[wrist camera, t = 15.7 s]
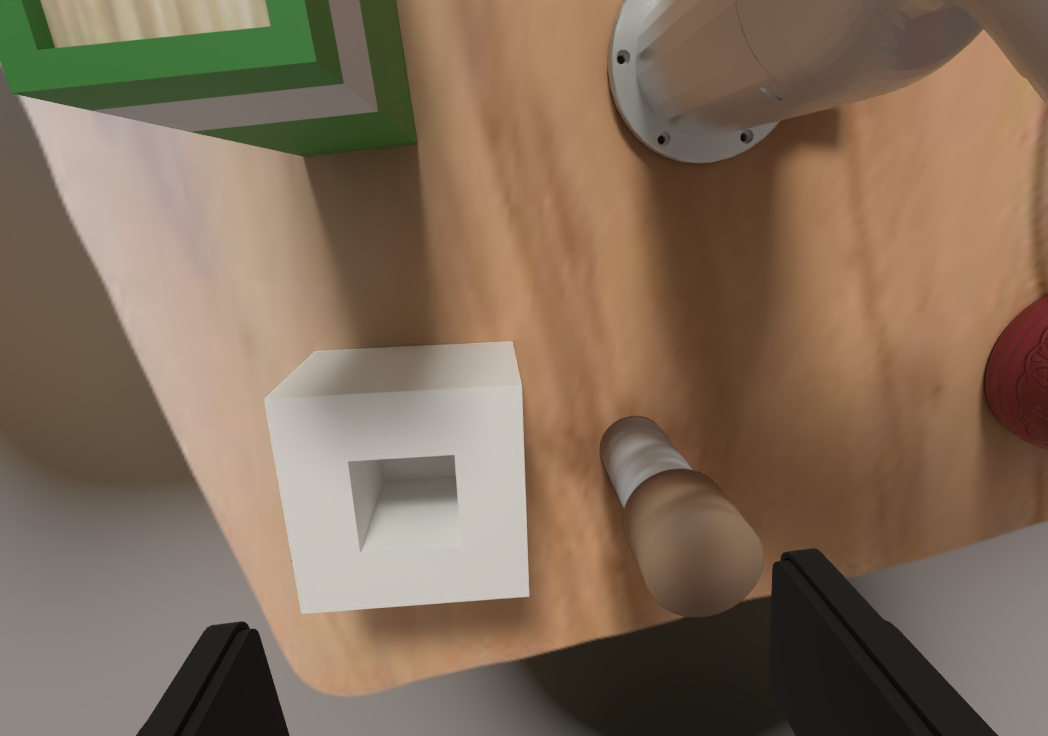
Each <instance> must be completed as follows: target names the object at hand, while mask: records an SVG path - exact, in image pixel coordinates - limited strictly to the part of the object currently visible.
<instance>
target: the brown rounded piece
mask: <svg viewBox="0 0 1048 736" xmlns="http://www.w3.org/2000/svg"><path fill="white" fill-rule="evenodd" d="M600 456H601V459H602V462H603V464H604V466H605V468H606V471H607V473H608V475H609V477H610V479H611V482H612V484H613V486H614V488H615V490H616V493H617V495H618V497H619V499H620V501H621V504H622V506H623V508H624V511H623V518H622V522H623V530H624V533H625V536H626V538H627V541H628V543H629V545H630V548H631V550H632V552H633V555H634V557H635V559H636V562H637V564H638V567H639V569H640V571H641V574H642V576H643V578H644V581H645V583H646V585H647V588H648V590H649V592H650V594H651V596H652V597H653V598H654V600H655V601H656V602H657V603H658V604H659V605H660V606H662V607H663V608H665V609H666V610H668V611H670V612H672V613H674V614H677V615H681V616H686V617H705V616H711V615H715V614H718V613H721V612H724V611H726V610H728V609H730V608H731V607H733V606H735V605H736V604H738V603H739V602H740V601H742V600H743V599H744V598H745V597H746V596H747V595H748V594H749V593H750V592H751V590H752V589H753V588H754V586H755V585H756V583H757V581H758V579H759V577H760V575H761V572H762V568H763V562H764V554H763V548H762V544H761V542H760V539H759V537H758V536H757V534H756V533H755V531H754V530H753V529H752V528H751V526H750V525H749V524H748V523H747V521H746V520H745V519H744V518H743V517H742V515H741V514H740V513H739V512H738V510H737V509H736V508H735V507H734V505H733V504H732V503H731V502H730V501H729V499H728V498H727V497H726V496H725V494H724V493H723V492H722V491H721V489H720V488H719V487H718V486H717V485H716V484H715V482H714V481H713V480H711V479H710V478H709V477H708V476H706V475H704V474H702V473H700V472H697V471H694V470H692V468H691V467H690V466H689V465H688V463H687V462H686V461H685V459H684V458H683V457H682V455H681V454H680V453H679V452H678V450H677V449H676V448H675V446H674V445H673V444H672V442H671V441H670V440H669V439H668V437H667V436H666V435H665V433H664V432H663V431H662V429H661V428H660V427H659V426H658V425H657V424H656V423H655V422H654V421H652V420H650V419H648V418H645V417H641V416H630V417H625V418H622V419H620V420H618V421H616V422H615V423H613V424H612V425H611V426H610V427H609V428H608V429H607V430H606V432H605V433H604V435H603V437H602V439H601V442H600Z"/></svg>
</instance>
